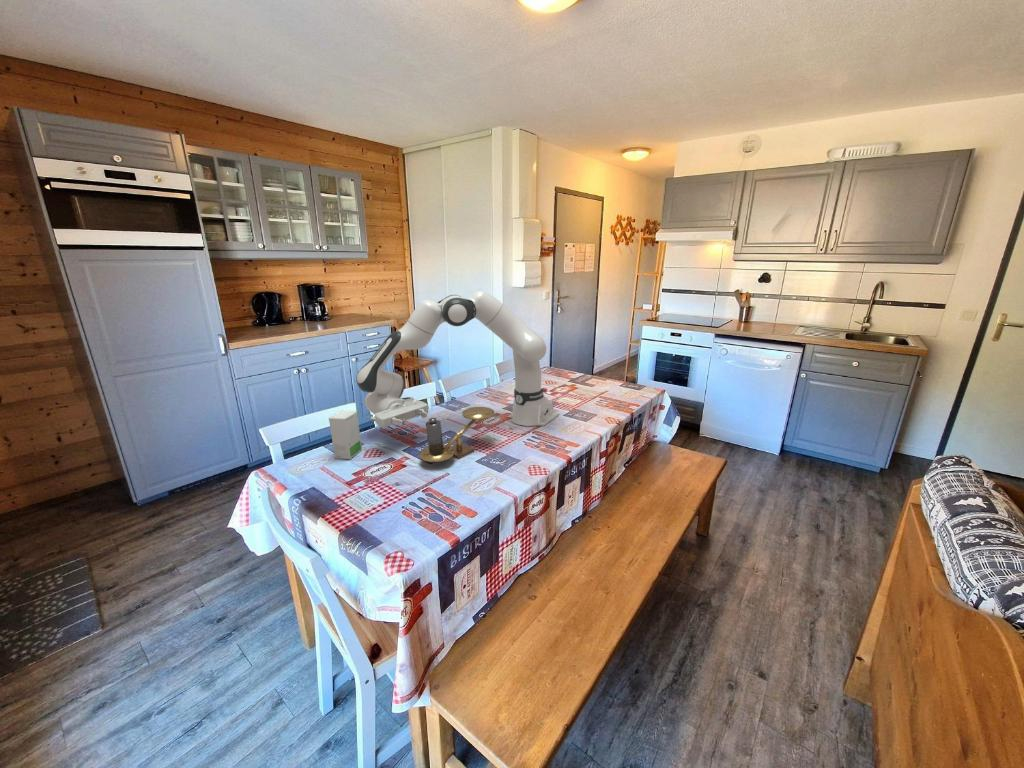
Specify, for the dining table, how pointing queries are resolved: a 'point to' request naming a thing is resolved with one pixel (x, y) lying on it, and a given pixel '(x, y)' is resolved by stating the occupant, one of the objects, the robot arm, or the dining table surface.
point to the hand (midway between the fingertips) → (414, 419)
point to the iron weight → (434, 437)
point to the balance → (459, 437)
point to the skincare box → (345, 434)
